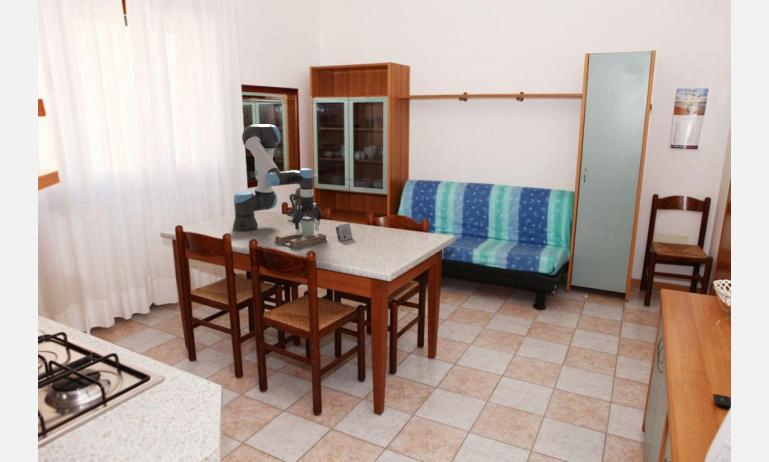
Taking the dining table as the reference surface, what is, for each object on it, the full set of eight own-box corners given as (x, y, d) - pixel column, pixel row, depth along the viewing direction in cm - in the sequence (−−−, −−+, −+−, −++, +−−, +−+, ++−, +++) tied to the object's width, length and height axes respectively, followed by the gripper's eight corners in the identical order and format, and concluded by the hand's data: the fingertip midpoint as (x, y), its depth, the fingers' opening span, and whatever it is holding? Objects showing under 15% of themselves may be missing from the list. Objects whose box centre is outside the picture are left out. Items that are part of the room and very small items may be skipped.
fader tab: (301, 238, 284) (301, 217, 281) (307, 237, 287) (306, 216, 284) (308, 240, 280) (308, 219, 277) (314, 238, 283) (313, 218, 280)
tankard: (304, 213, 359) (303, 186, 354) (320, 216, 349) (320, 188, 345) (279, 218, 341) (278, 189, 336) (296, 222, 331) (295, 192, 326)
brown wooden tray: (274, 242, 279) (274, 235, 278) (304, 235, 295) (304, 229, 294) (296, 249, 266) (296, 241, 265) (327, 242, 282) (327, 234, 281)
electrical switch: (341, 241, 284) (340, 225, 282) (335, 240, 287) (334, 225, 285) (352, 238, 291) (351, 223, 289) (346, 238, 294) (345, 222, 292)
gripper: (293, 199, 267) (294, 237, 272) (328, 194, 285) (328, 230, 290) (284, 197, 271) (286, 235, 276) (319, 192, 289) (320, 228, 294)
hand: (307, 232), depth 283 cm, fingers open, 13 cm apart
